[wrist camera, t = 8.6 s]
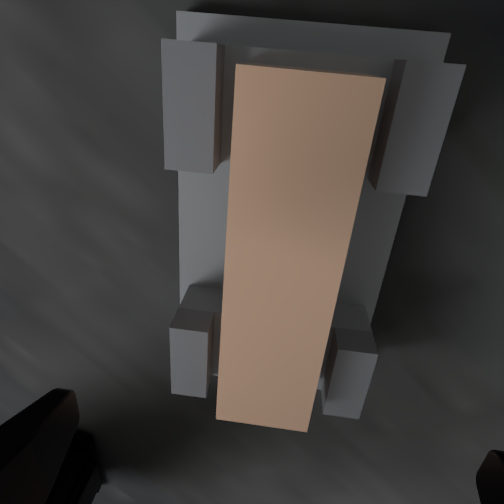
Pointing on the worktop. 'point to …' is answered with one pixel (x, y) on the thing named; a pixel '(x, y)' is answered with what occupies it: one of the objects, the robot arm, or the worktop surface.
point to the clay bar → (288, 232)
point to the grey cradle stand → (218, 171)
